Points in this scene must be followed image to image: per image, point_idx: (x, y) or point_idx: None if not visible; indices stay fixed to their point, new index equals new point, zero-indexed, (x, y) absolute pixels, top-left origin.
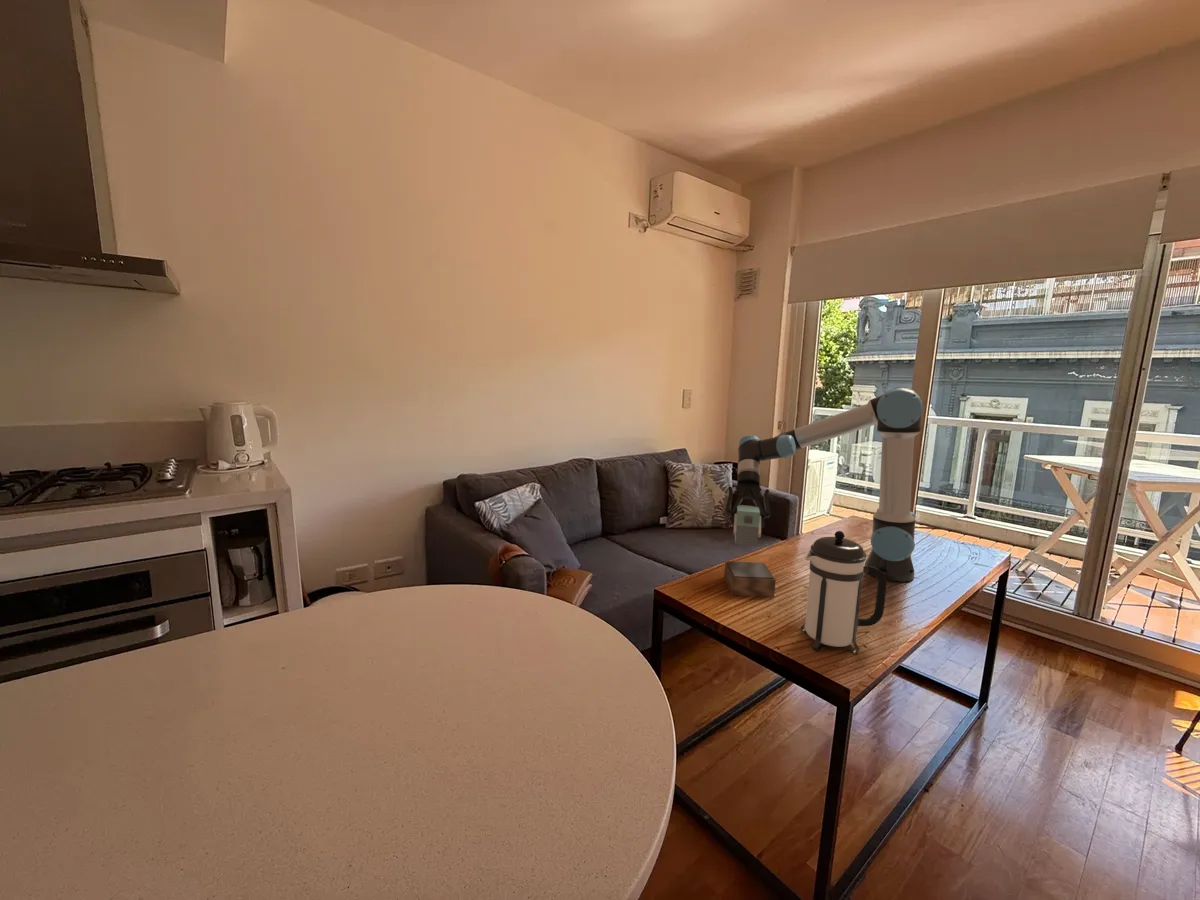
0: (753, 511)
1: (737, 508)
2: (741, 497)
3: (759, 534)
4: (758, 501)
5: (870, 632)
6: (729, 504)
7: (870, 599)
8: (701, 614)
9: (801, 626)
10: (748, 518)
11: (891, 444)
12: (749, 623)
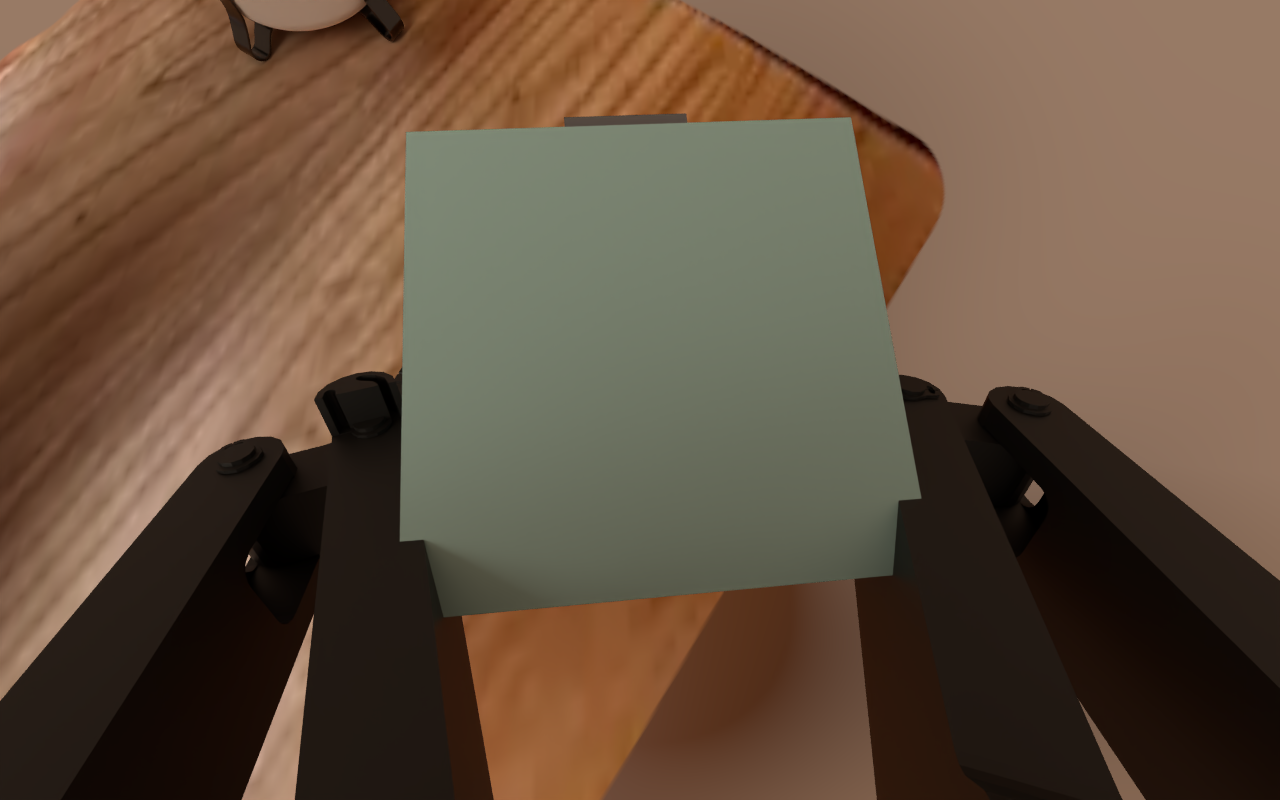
0: (540, 168)
1: (877, 262)
2: (1001, 783)
3: None
4: (333, 741)
5: (138, 86)
6: (1105, 490)
7: (7, 393)
8: (760, 44)
9: (398, 16)
10: (627, 124)
11: None
12: (588, 30)
